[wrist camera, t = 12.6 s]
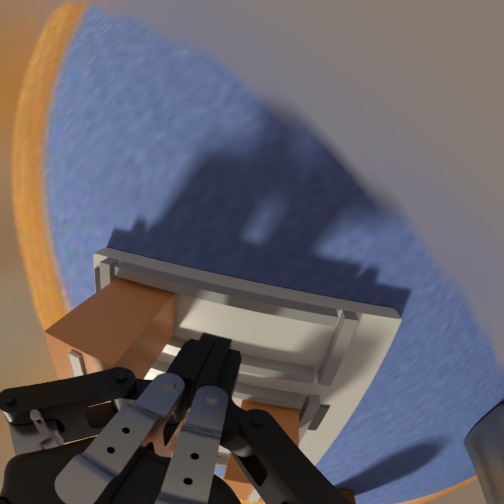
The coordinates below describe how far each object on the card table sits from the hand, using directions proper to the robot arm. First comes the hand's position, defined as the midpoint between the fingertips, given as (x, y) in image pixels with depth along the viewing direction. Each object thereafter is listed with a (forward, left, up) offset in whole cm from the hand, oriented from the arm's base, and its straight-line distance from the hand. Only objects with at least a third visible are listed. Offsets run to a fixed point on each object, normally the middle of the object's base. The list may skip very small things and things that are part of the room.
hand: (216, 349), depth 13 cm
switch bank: (0, +7, -4) cm, 8 cm away
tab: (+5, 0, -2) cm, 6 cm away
